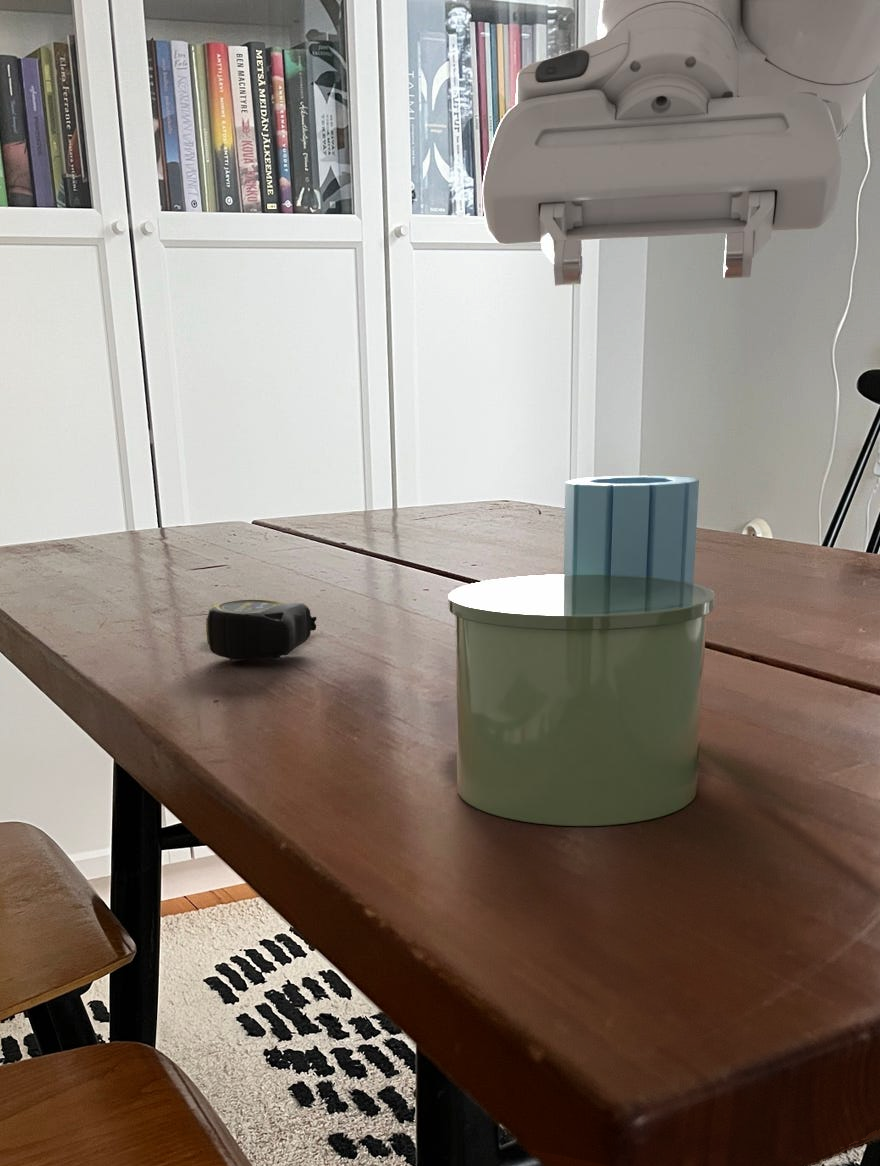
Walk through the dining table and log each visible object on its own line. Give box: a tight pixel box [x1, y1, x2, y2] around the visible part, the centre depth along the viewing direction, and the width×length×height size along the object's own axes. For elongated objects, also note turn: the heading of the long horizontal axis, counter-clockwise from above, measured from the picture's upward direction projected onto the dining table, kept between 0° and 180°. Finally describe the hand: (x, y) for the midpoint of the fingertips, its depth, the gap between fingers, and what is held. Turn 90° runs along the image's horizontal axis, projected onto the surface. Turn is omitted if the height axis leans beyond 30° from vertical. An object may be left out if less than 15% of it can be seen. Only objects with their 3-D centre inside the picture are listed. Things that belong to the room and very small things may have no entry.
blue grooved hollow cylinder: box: [563, 475, 700, 583], centre depth 65 cm, size 6×7×8 cm
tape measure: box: [205, 599, 317, 663], centre depth 88 cm, size 7×7×4 cm
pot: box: [447, 573, 716, 827], centre depth 60 cm, size 20×12×11 cm, turn 158°
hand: (651, 272), depth 71 cm, fingers open, 8 cm apart
